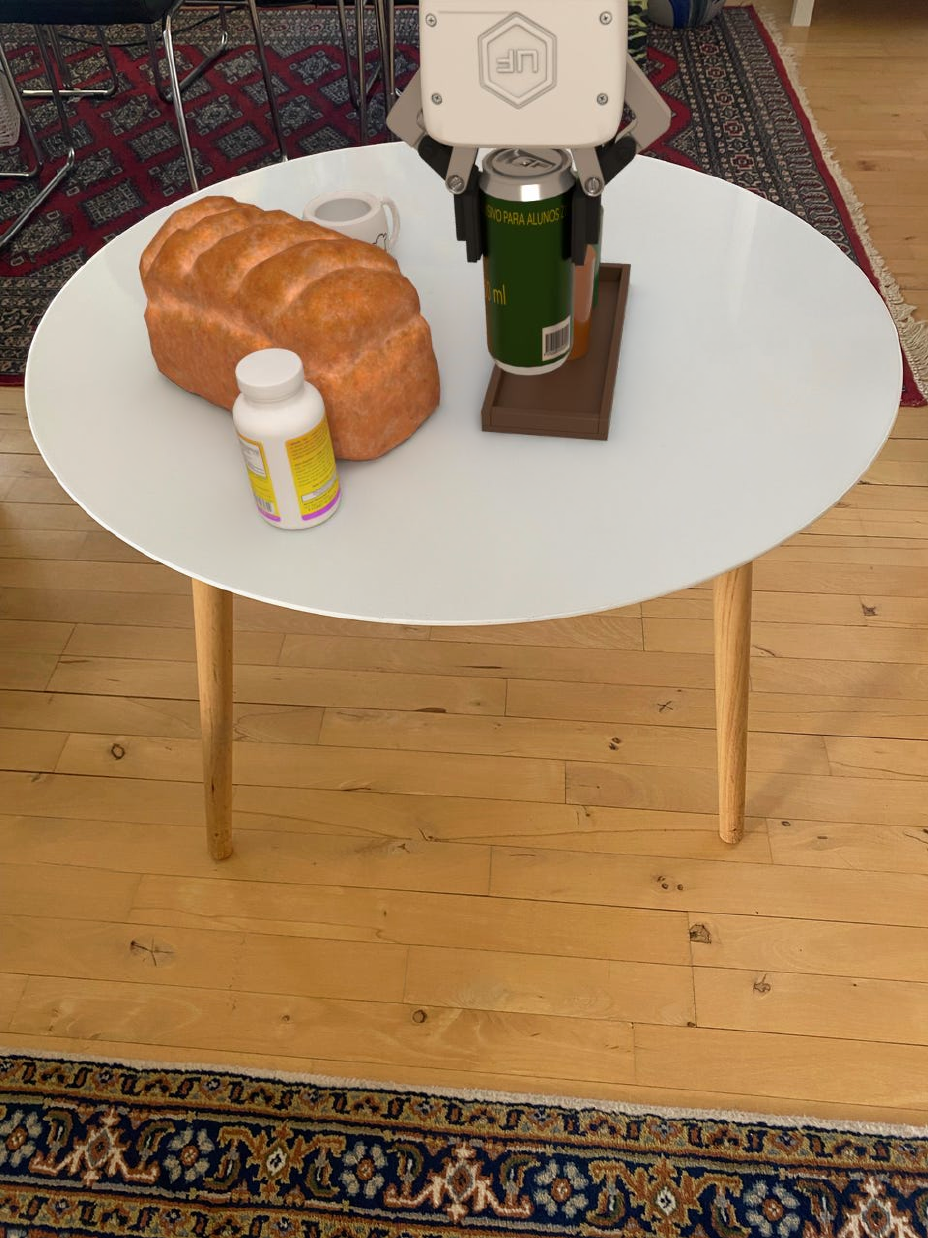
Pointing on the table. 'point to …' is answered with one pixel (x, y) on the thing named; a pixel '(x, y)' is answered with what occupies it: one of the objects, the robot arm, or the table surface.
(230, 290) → the bread
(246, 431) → the supplement bottle
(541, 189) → the beer can
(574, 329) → the amber bottle
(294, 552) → the table surface
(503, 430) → the tray
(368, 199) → the mug
